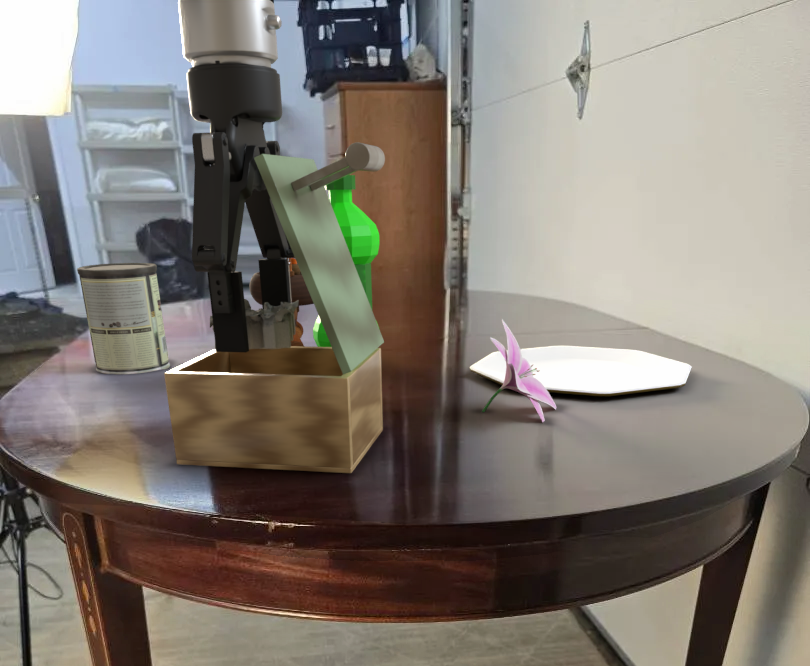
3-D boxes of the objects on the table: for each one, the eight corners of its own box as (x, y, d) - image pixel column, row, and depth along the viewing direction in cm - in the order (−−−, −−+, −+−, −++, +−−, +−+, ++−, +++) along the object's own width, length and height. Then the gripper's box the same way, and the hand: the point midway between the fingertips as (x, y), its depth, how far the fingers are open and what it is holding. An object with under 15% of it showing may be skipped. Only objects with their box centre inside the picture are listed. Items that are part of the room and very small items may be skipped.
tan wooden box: (177, 468, 71) (163, 372, 68) (232, 426, 83) (224, 344, 80) (351, 477, 69) (347, 378, 65) (383, 433, 81) (380, 348, 77)
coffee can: (87, 367, 112) (68, 265, 107) (156, 359, 118) (142, 261, 112) (107, 380, 105) (88, 271, 99) (180, 370, 110) (167, 266, 104)
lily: (500, 447, 79) (553, 366, 75) (426, 386, 84) (472, 307, 80) (553, 454, 88) (602, 382, 85) (484, 398, 94) (527, 328, 90)
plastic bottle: (300, 358, 117) (287, 176, 107) (358, 349, 123) (351, 176, 112) (335, 369, 110) (325, 174, 99) (395, 359, 115) (391, 174, 105)
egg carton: (228, 333, 77) (223, 290, 75) (303, 331, 77) (301, 288, 75) (204, 353, 67) (198, 304, 65) (290, 351, 67) (287, 302, 66)
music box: (354, 391, 97) (334, 220, 88) (270, 408, 94) (240, 232, 85) (317, 368, 110) (296, 217, 101) (242, 382, 106) (213, 227, 97)
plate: (544, 413, 87) (544, 400, 86) (442, 366, 110) (442, 356, 110) (735, 389, 96) (737, 377, 96) (604, 350, 120) (605, 340, 119)
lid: (253, 157, 59) (344, 113, 57) (306, 162, 71) (382, 126, 69) (342, 374, 65) (428, 342, 62) (377, 344, 77) (450, 317, 75)
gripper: (218, 39, 52) (249, 366, 61) (317, 82, 73) (330, 319, 82) (115, 44, 53) (160, 364, 62) (242, 85, 74) (262, 318, 83)
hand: (257, 339), depth 72 cm, fingers closed on egg carton, 11 cm apart
